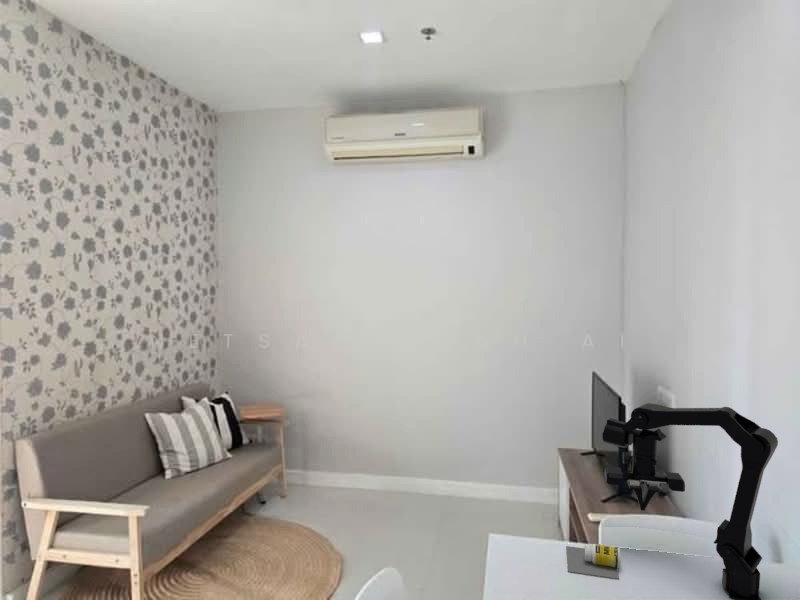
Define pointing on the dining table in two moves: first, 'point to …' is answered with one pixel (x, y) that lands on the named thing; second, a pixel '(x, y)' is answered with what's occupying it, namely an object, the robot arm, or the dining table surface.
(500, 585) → the dining table surface
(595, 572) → the mat
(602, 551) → the supplement bottle
